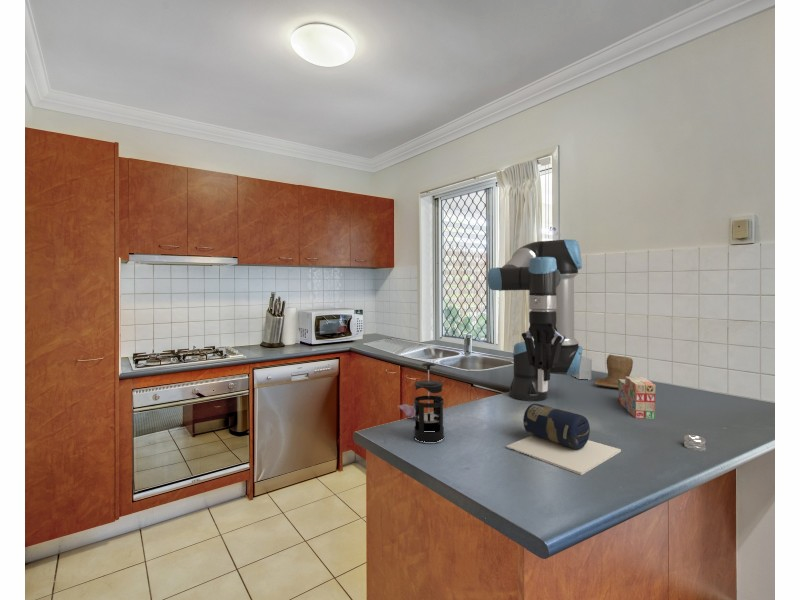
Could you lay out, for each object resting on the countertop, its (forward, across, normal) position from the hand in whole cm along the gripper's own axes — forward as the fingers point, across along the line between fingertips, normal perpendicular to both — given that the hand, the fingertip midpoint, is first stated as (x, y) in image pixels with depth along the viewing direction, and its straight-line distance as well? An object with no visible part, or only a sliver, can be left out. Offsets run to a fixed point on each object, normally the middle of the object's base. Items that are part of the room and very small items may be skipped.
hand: (542, 391), depth 117 cm
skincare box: (+16, -36, +93) cm, 101 cm away
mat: (+16, +6, 0) cm, 17 cm away
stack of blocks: (+16, +4, +55) cm, 58 cm away
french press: (+16, -25, -22) cm, 37 cm away
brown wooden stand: (+16, -16, +85) cm, 88 cm away
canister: (+10, -7, +3) cm, 12 cm away
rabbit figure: (+16, -43, -14) cm, 48 cm away
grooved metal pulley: (+16, +29, +30) cm, 45 cm away
